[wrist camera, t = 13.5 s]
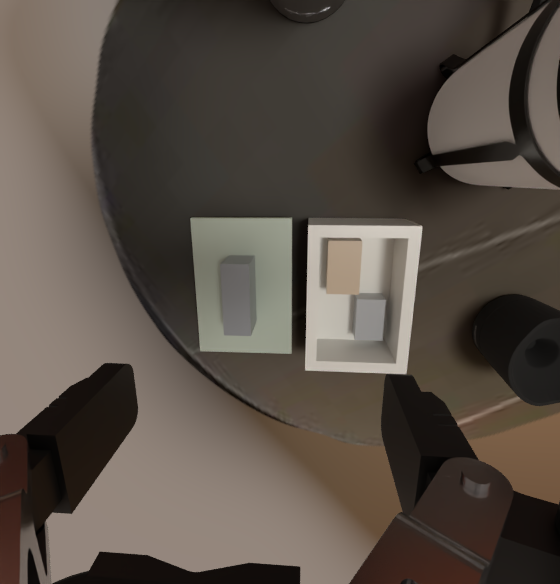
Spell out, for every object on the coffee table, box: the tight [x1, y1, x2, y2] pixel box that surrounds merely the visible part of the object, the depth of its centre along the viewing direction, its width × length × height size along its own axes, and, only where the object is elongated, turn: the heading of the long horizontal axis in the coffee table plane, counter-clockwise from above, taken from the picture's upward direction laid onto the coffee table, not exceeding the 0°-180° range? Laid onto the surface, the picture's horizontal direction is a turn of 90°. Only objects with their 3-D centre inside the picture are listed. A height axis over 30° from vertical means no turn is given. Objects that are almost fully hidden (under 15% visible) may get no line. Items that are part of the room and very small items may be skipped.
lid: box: [190, 217, 292, 354], centre depth 43 cm, size 16×11×7 cm
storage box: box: [305, 218, 422, 374], centre depth 42 cm, size 16×11×7 cm
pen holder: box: [472, 295, 560, 406], centre depth 41 cm, size 9×9×10 cm
